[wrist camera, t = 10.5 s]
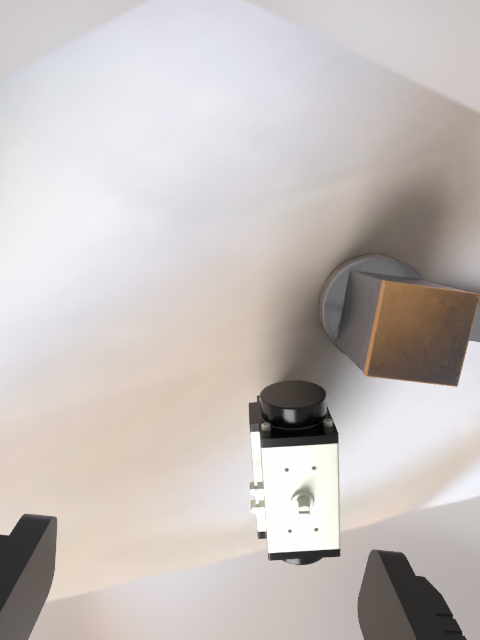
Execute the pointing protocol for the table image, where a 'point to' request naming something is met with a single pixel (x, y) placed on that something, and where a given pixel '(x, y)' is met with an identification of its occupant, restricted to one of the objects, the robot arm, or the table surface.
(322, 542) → the pneumatic valve
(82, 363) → the table surface
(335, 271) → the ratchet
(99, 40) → the table surface
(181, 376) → the table surface
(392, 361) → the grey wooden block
